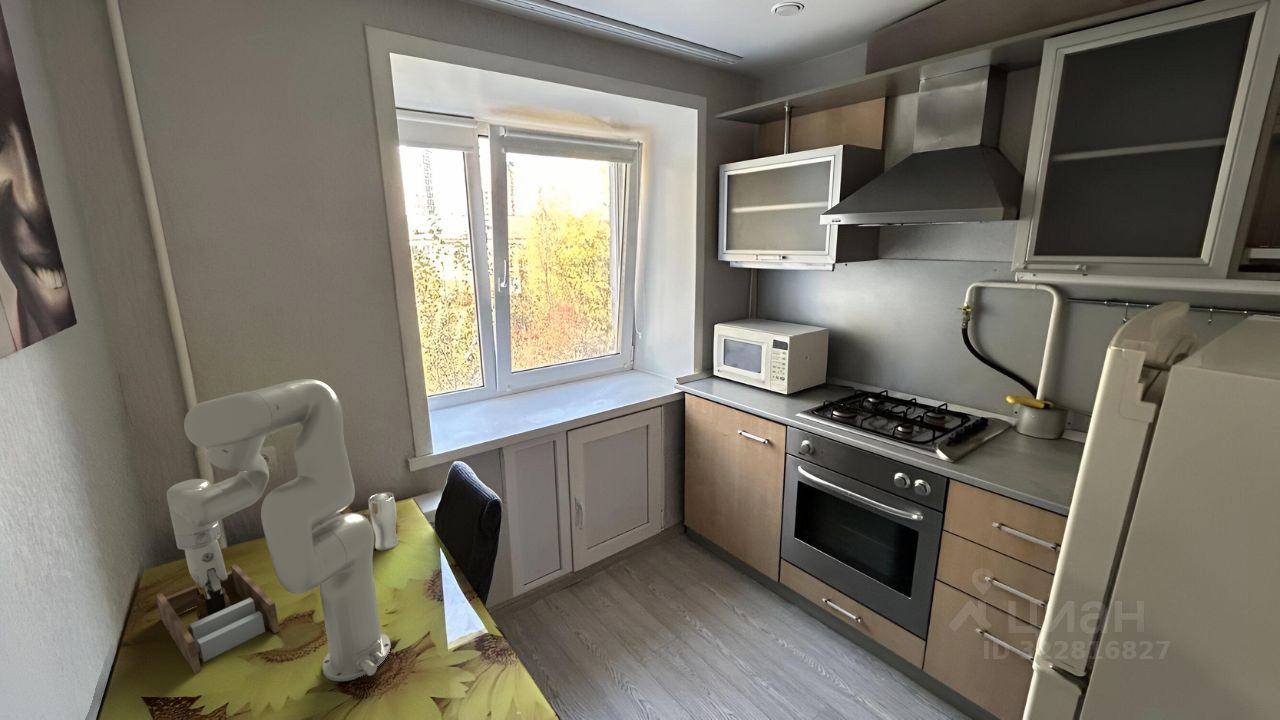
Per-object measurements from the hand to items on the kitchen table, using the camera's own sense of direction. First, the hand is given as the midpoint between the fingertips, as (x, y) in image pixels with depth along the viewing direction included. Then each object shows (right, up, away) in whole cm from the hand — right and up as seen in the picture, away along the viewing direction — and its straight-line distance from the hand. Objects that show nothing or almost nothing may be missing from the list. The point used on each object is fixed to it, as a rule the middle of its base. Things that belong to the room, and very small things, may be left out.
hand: (212, 605), depth 119 cm
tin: (+4, +4, +40) cm, 40 cm away
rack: (+3, -4, -1) cm, 5 cm away
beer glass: (+25, +2, +32) cm, 40 cm away
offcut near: (+7, -5, -4) cm, 9 cm away
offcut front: (+10, -6, -7) cm, 13 cm away
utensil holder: (0, -4, +1) cm, 4 cm away
